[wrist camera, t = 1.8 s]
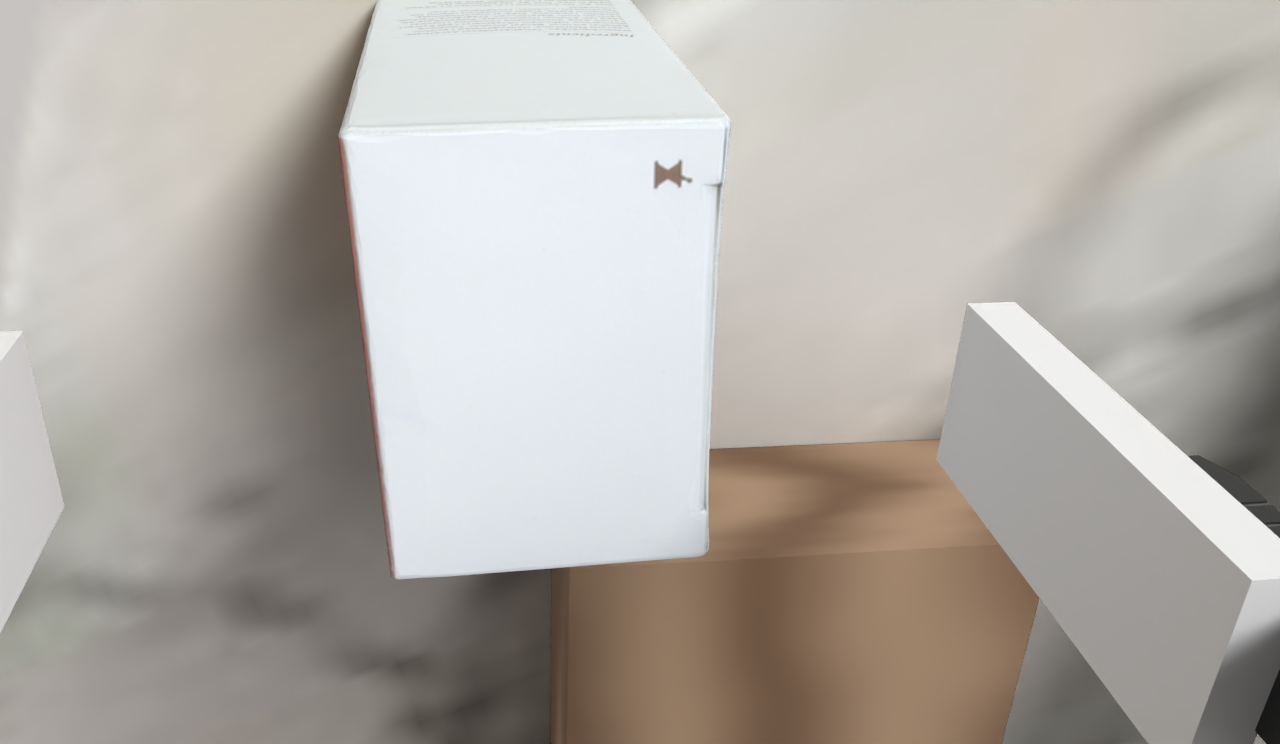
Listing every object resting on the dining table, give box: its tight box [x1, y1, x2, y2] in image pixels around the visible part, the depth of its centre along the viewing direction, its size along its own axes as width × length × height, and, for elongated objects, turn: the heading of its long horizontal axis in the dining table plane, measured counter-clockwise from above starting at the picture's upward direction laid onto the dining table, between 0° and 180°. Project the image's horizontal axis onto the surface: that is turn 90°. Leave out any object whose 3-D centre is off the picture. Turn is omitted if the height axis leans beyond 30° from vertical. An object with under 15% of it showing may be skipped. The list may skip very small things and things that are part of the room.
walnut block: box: [550, 439, 1039, 744], centre depth 32 cm, size 12×12×5 cm
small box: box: [338, 0, 731, 580], centre depth 22 cm, size 8×6×10 cm
